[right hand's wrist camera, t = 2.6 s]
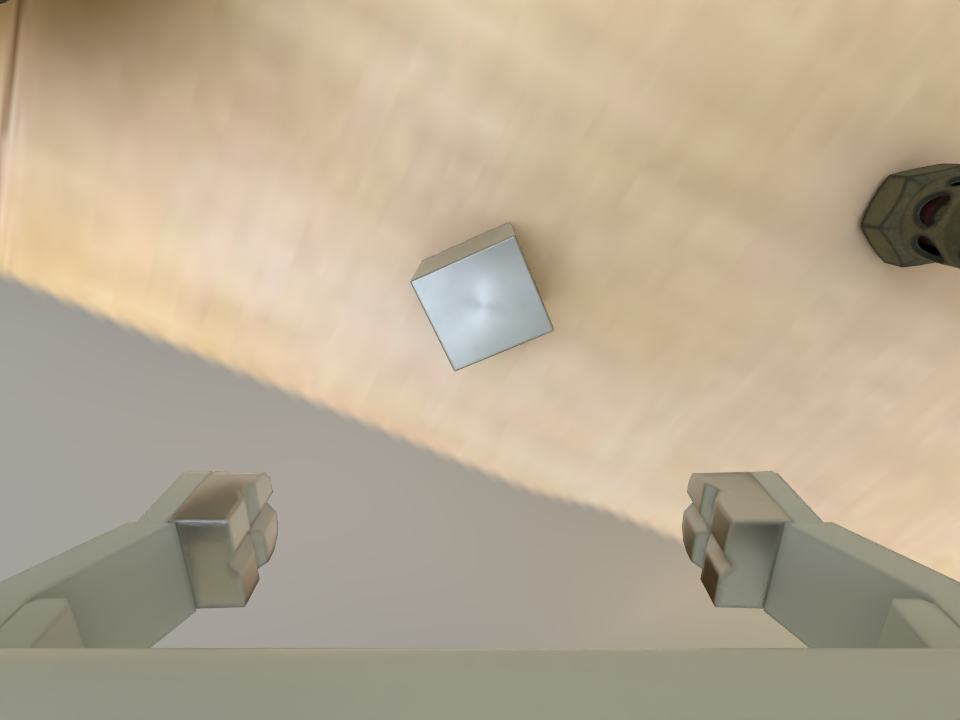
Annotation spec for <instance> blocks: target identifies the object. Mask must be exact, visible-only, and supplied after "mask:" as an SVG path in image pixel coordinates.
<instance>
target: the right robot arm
mask: <svg viewBox="0 0 960 720" xmlns="http://www.w3.org/2000/svg"><path fill="white" fill-rule="evenodd" d="M272 493H273V491H272V485H271V480H270V477H269V476H268V475H267V474H266V473H263V472H212V471H192V472H186V473H182V474H181V475H180V476H179V478H178V479H177V480H176V481H175V482H174V483H173V484H172V485H171V486H170V487H169V488H168V489H167V490H166V491H165V492H164V494H163V495H162V496H161V497H160V498H159V499H158V500H157V501H156V502H155V503H154V504H153V505H152V506H151V507H150V508H149V509H148V511H147V512H146V513H145V514H144V515H143V516H142V517H141V518H140V519H139V520H138V521H137V522H128V523H125V524H123V525H121V526H119V527H117V528H115V529H113V530H111V531H108V532H106V533H104V534H102V535H100V536H98V537H96V538H93V539H91V540H89V541H87V542H85V543H83V544H81V545H79V546H76V547H74V548H72V549H70V550H68V551H66V552H64V553H61V554H59V555H57V556H55V557H53V558H51V559H49V560H46V561H44V562H42V563H40V564H38V565H36V566H34V567H32V568H29V569H27V570H25V571H23V572H21V573H19V574H17V575H15V576H12V577H10V578H8V579H6V580H4V581H2V582H0V720H960V582H958V581H956V580H954V579H952V578H949V577H947V576H945V575H943V574H941V573H939V572H937V571H935V570H932V569H930V568H928V567H926V566H924V565H922V564H920V563H918V562H915V561H913V560H911V559H909V558H907V557H905V556H903V555H901V554H898V553H896V552H894V551H892V550H890V549H888V548H886V547H883V546H881V545H879V544H877V543H875V542H873V541H871V540H869V539H866V538H864V537H862V536H860V535H858V534H856V533H854V532H852V531H849V530H847V529H845V528H843V527H841V526H839V525H837V524H835V523H832V522H823V521H822V520H821V519H820V518H819V517H818V516H817V515H816V514H815V513H814V512H813V510H812V509H811V508H810V507H809V506H808V505H807V504H806V503H805V502H804V501H803V500H802V499H801V498H800V497H799V496H798V495H797V493H796V492H795V491H794V490H793V489H792V488H791V487H790V486H789V485H788V484H787V483H786V482H785V481H784V480H783V479H782V477H781V476H780V475H779V474H777V473H775V472H773V471H757V472H731V473H693V474H692V476H691V478H690V480H689V484H688V490H687V493H688V494H689V496H690V498H691V499H692V501H693V503H692V504H691V505H690V506H689V507H688V508H687V509H686V510H685V511H684V516H683V524H682V531H683V541H684V545H685V548H686V551H687V554H688V555H689V558H690V560H691V561H692V562H693V563H694V564H696V565H697V566H699V567H700V568H702V574H701V581H702V583H703V585H704V587H705V588H706V590H707V592H708V594H709V596H710V598H711V600H712V602H713V604H714V606H715V607H729V608H764V611H765V612H766V613H767V614H769V615H770V616H771V617H772V618H773V619H775V620H776V621H777V622H778V623H780V624H781V625H782V626H783V627H785V628H786V629H787V630H788V631H789V632H791V633H792V634H793V635H794V636H796V637H797V638H798V639H799V640H801V641H802V642H803V643H804V644H806V645H807V646H808V647H809V648H151V647H152V646H153V645H155V644H156V643H157V642H158V641H160V640H161V639H162V638H163V637H165V636H166V635H167V634H168V633H169V632H171V631H172V630H173V629H174V628H176V627H177V626H178V625H179V624H181V623H182V622H183V621H184V620H186V619H187V618H188V617H189V616H190V615H192V614H193V613H194V612H195V611H196V608H229V607H245V606H246V604H247V602H248V600H249V598H250V596H251V594H252V592H253V590H254V589H255V587H256V585H257V583H258V581H259V574H258V568H260V567H261V566H263V565H264V564H266V563H267V562H268V561H269V560H270V557H271V555H272V553H273V551H274V548H275V544H276V539H277V532H278V522H277V515H276V511H275V510H274V509H273V508H272V507H271V506H270V505H269V504H268V503H267V501H268V499H269V498H270V496H271V494H272Z"/></svg>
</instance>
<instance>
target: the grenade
mask: <svg viewBox="0 0 960 720" xmlns="http://www.w3.org/2000/svg"><path fill="white" fill-rule="evenodd" d="M861 227H862V229H863V231H864V234H865V236H866V237H867V239H868V241H869V243H870V244H871V246H872V247H873V248H874V250H875V251H876V253H877V254H878V255H879V256H880V257H881V259H882V260H883V261H884V262H885V263H889V264H892V265H896V266H900V267H908V266H917V265H923V264H929V263H934V262H936V263H940V264H944V265H948V266H952V267H957V268H960V164H939V165H933V166H927V167H922V168H917V169H912V170H908V171H903V172H899V173H896V174H892V175H889V176H888V177H887V179H886V180H885V181H884V183H883V184H882V185H881V187H880V188H879V190H878V191H877V193H876V194H875V196H874V198H873V199H872V201H871V203H870V205H869V207H868V209H867V211H866V213H865V216H864V219H863V221H862V224H861Z"/></svg>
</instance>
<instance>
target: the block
mask: <svg viewBox="0 0 960 720" xmlns="http://www.w3.org/2000/svg"><path fill="white" fill-rule="evenodd" d="M411 284H412V287H413V289H414V291H415V293H416V295H417V297H418V299H419V301H420V303H421V305H422V307H423V309H424V311H425V313H426V315H427V317H428V319H429V321H430V323H431V325H432V327H433V329H434V331H435V333H436V335H437V337H438V339H439V341H440V343H441V345H442V347H443V349H444V351H445V353H446V355H447V357H448V359H449V361H450V363H451V365H452V367H453V369H454V371H457V370H460V369H462V368H464V367H467V366H469V365H472V364H474V363H477V362H479V361H481V360H484V359H486V358H489V357H491V356H494V355H496V354H498V353H501V352H503V351H506V350H508V349H511V348H513V347H515V346H518V345H520V344H523V343H525V342H528V341H530V340H532V339H535V338H537V337H540V336H542V335H545V334H547V333H549V332H552V331H553V330H554V328H553V326H552V323H551V321H550V318H549V316H548V313H547V311H546V309H545V306H544V304H543V301H542V299H541V296H540V294H539V292H538V289H537V287H536V284H535V282H534V279H533V277H532V275H531V272H530V270H529V267H528V265H527V262H526V260H525V258H524V255H523V253H522V250H521V248H520V245H519V243H518V241H517V238H516V236H515V233H514V231H513V228H512V226H511V224H510V222H508V223H506V224H504V225H501V226H499V227H497V228H495V229H492V230H490V231H488V232H486V233H483V234H481V235H479V236H477V237H475V238H472V239H470V240H468V241H466V242H463V243H461V244H459V245H457V246H455V247H452V248H450V249H448V250H446V251H443V252H441V253H439V254H437V255H434V256H432V257H430V258H428V259H426V260H423V261H422V262H421V264H420V266H419V267H418V269H417V271H416V273H415V274H414V276H413V278H412V280H411Z"/></svg>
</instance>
